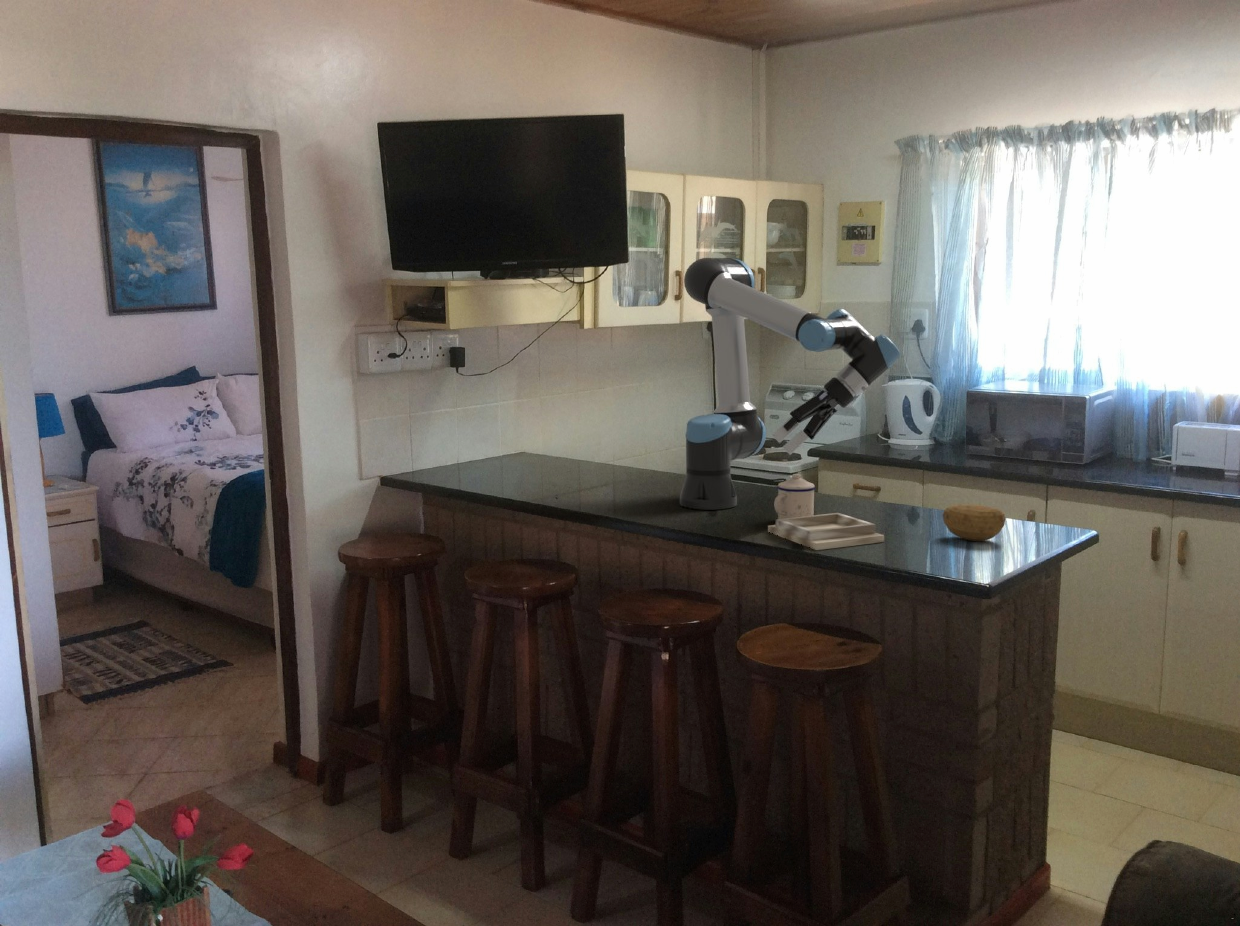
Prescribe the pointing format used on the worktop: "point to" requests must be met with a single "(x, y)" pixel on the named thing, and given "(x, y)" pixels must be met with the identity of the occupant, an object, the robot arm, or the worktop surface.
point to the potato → (974, 521)
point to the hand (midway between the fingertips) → (780, 445)
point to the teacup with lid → (795, 498)
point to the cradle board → (826, 531)
